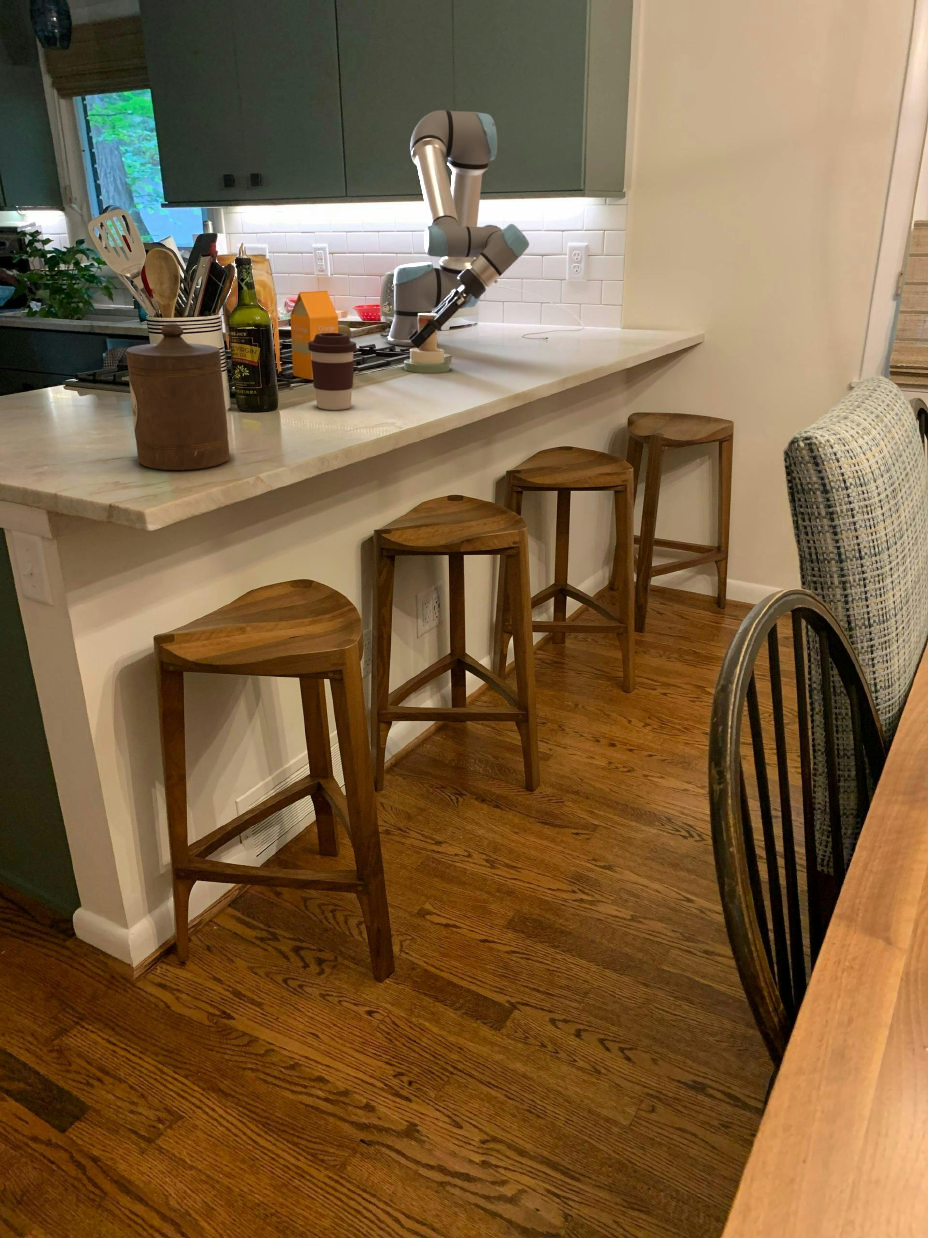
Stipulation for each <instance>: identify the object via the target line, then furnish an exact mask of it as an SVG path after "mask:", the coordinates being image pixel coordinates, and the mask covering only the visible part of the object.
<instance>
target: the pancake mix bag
mask: <svg viewBox="0 0 928 1238" xmlns="http://www.w3.org/2000/svg"><path fill="white" fill-rule="evenodd" d="M238 254H239V253H231V254H229V253H228V254H227V253H226V254H217V261H218V263H219V264H220V265H221V266H227V265H228V264H230V263H234V261H235V259H236V257H237V255H238ZM245 255H246V256H247V257H248V258H250V259H251V260H252V270H253V277H254V282H255V289H256V295H257V300H258V303H259V304H260V305H261V306H262V307H264V308H265V309H266V311H267V312H268V313H269V314H270V316H271V320H272V324H273V333H274V342H275V353H276V361H277V368H278V373H277V374H280V372H281V371H282V366H281V358H280V357H281V352H280V336H279V335H280V334H279V333H280V332H279V312H278V302H277V294H276V287H275V282H274V277H273V271H272V267H271V262H270V258H267V255H266V254H263V253H262V254H259V253H258V254H245ZM237 302H238V284H237V277H236V276H235V279H234V281H233V284H232V288H231V292H230V294H229V296H228V298H227V301H226V302H225V305H224V313H223V314H224V318H223V322H224V329H225V339H226V340H225V341H226V346H227V350H228V351H229V336H228V334H229V318H230V315H231V313H232V311H233V310H234V308H235V307H236V305H237Z"/></svg>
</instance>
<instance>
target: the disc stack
mask: <svg viewBox="0 0 928 1238" xmlns="http://www.w3.org/2000/svg"><path fill="white" fill-rule="evenodd" d="M403 364H404V365H403V366H404V367H403V370H405V371H407V372H411V373H417V374H418V373H420V374H441V373H447V372H450V366H451V365H450V364H451V363H450V361H449V360H448V359H447V360H446V359H445V349H443V348H438V347H437V350H436V351H420V350H418V348H417V347H412V348H410V349H409V358H408V359H404V361H403Z"/></svg>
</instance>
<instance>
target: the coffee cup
mask: <svg viewBox="0 0 928 1238" xmlns="http://www.w3.org/2000/svg"><path fill="white" fill-rule="evenodd" d="M308 349H309V350H310V351H311V352H312V360H311V363H312V373H313V380H312V383H313V388H314V391H315V400H316V401H315V402H316V406H317V408H319V409H321V410H327V411H343V410H348V409H350V408H351V406H352V390H353V387H354V374H355V373H354V369H355V360H354V352H356V351H357V343H356V342H355V341H352V340H351V337H350V338H349V336H348V335H347V334H343V333H319V334H316V335H315V338H314V340H313V341H310V342H308Z"/></svg>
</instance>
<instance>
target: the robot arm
mask: <svg viewBox="0 0 928 1238" xmlns="http://www.w3.org/2000/svg"><path fill="white" fill-rule="evenodd" d="M497 132H498V131H497V128H496V123H495V121H494V119H493V117H492V116H491V115H490V114H488V113H483V112H478V111H461V110H457V111H456V110H444V109H443V110H441V109H439V110H434V111H431V112H430V113H427V114H426V115H424V116H423V117H422V118H421V119H420V120H419V121H418V123H417V124H416V126H415V128H414V129H413V132H412V134H411V136H410V137H411V138H410V143H409V144H410V145H409V146H410V147H409V149H410V156H411V159H412V162H413V163H414V165H415V166H416V167H417V171H418V176H419V180H420V186H421V191H422V195H423V200H424V205H425V209H426V214H427V219H428V225H427V227H426V228H425V230H424V236H423V243H424V250H425V253H426V254H427V255H428V256H429V257H436V258H441V259H440V260H439V267H434V265H433V263H432V262H428V261H427V262H425V261H424V262H415V263H413V262H412V263H407V264H402V265H398V266H397V267H396V268H395V269H394V274H393V275H394V276H393V283H392V285H393V319H392V323H391V327H390V331H389V333H380V337H382V338H387V343H388V344H390V345H393V346H401V347H415V348H419V347H420V346H421V345H422V344H423V343H424V342H425V341H426V340H427V339H428V338H429V337H430V336H431V335H432V334H433V333H434V332H435V331H436V330H437V331H438V330H441V329H442V327H443V326H444V325H445V324H446V323H447V322H448V321H449V320H450V319H451V318H452V317H453V316H454V315H455V314H456V313H457V312H458V311H459V310H463V309H472V308H475V306H477V305H478V303H479V301H480V299H481V297H482V295H484V293H485V292H486V291H487V288H490V287H491V286H492V285H493V284H497V283H498V281H499V280H498V279H499V278H500V277H501V276H502V275H503V274H504V273H505V272H506V271H507V270H508V269H509V268H510V267H511V266H512V265H514V263H515V262H517V261H518V259H519V258H521V257H522V256H523V254H524V253H525V252H526V251H527V250H528V249H529V247H530V242H529V240H528V238H527V237H526V236H525V235H524V233H523V232H522V230H520V229H519V228H518V227H517V226H516V225H515V224H514V223H510V224H508V225H507V226H506V227H504V228H501V227H500V226H497V225H495V224H486V225H484V226H478V220H479V210H480V201H481V191H482V179H483V174H484V173H485V171H487V170H488V169H489V163H490V162H492V161H494V160H495V159H496V157H497V154H498V134H497ZM445 159H447V165H448V166H449V168H450V169H451V172H452V174H451V183H450V178H449V174H448V169H447V165H446V160H445ZM433 309H434V310H433ZM419 313H434V314H437V315H436V316H435V317H434V318H433V320H432V321H431V320H430V319H429V320H428V322H429V323H430V324H429V323H427V324H426V325H425V326H424V327H423V328H422V329H421V330H420V331H419V332H418V314H419Z"/></svg>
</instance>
